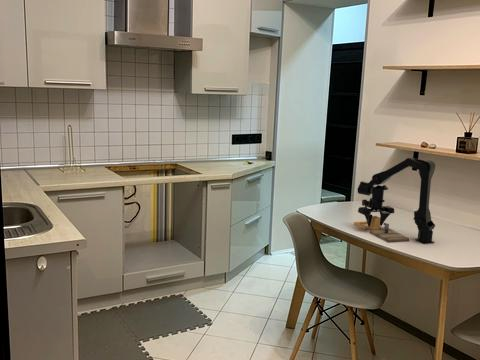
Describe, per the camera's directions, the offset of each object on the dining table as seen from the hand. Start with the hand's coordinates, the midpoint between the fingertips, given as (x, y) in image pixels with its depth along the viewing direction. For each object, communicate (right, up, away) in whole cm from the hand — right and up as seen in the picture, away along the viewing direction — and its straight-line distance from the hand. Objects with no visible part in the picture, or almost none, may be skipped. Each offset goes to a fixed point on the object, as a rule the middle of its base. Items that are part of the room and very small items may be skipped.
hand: (374, 226), depth 247 cm
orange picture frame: (-2, -1, +5) cm, 5 cm away
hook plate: (+4, -4, -11) cm, 13 cm away
